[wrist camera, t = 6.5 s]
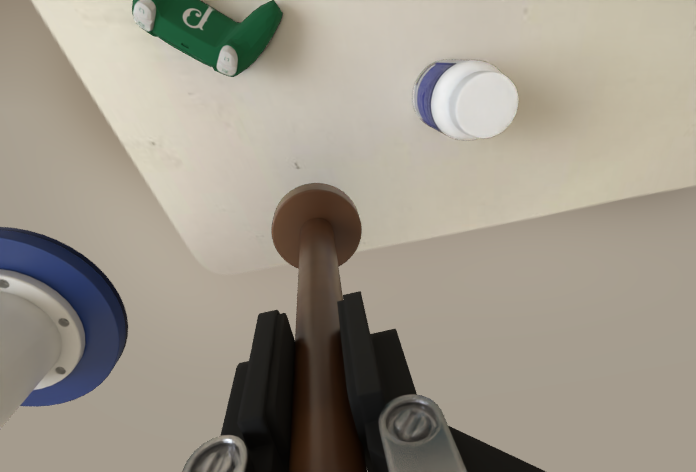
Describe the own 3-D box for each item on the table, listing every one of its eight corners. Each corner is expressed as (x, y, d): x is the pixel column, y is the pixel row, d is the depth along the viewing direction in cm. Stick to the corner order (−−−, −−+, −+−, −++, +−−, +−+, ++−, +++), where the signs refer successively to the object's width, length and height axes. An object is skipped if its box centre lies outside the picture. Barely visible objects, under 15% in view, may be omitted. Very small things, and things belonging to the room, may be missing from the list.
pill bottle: (417, 134, 34) (450, 158, 26) (406, 68, 32) (438, 72, 24) (479, 118, 34) (531, 137, 26) (472, 51, 32) (526, 49, 24)
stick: (285, 269, 22) (246, 633, 8) (262, 193, 20) (160, 489, 6) (366, 252, 22) (464, 584, 8) (350, 173, 20) (440, 427, 6)
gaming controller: (159, -29, 30) (115, 24, 27) (159, -79, 26) (109, -24, 24) (275, 41, 32) (244, 95, 30) (288, 3, 29) (255, 61, 26)
